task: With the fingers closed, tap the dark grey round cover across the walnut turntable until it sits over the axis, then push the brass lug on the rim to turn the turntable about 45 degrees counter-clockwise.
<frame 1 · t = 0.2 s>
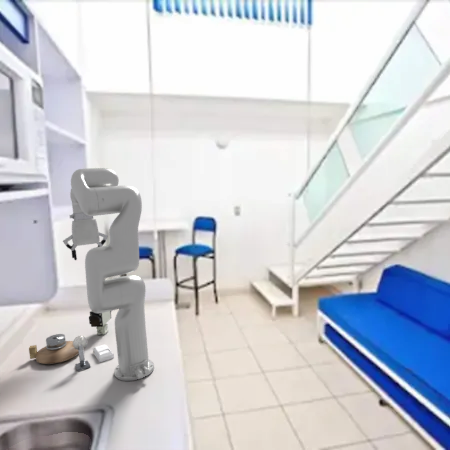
hand: (87, 257, 155), 31 cm above the worktop, tool pointing down, fingers open, 9 cm apart
pneumatic valve: (101, 333, 154), on the worktop
gauge post: (82, 366, 127), on the worktop
white switch plate: (103, 356, 134), on the worktop
turntable: (55, 348, 135), point 3 cm above the worktop, hinge at 0.0°, touching cover
cover: (56, 346, 139), point 2 cm above the worktop, touching turntable
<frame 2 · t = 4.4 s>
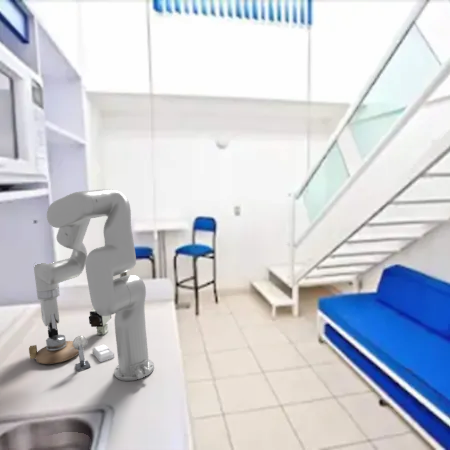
hand: (53, 339, 142), 3 cm above the worktop, tool pointing down, fingers closed
turntable: (55, 348, 135), point 3 cm above the worktop, hinge at 0.0°
cover: (56, 347, 138), point 2 cm above the worktop, touching gripper
everything else where it was.
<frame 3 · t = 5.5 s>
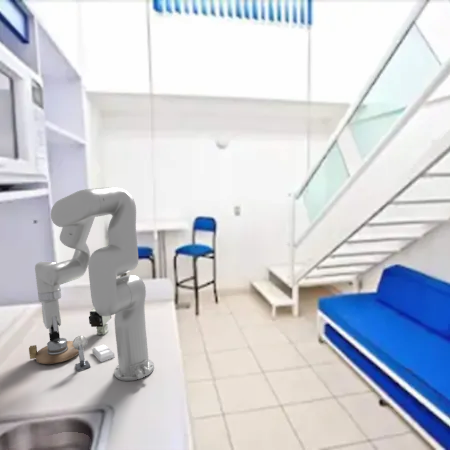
hand: (55, 342, 139), 4 cm above the worktop, tool pointing down, fingers closed
turntable: (55, 348, 135), point 3 cm above the worktop, hinge at 0.5°, touching cover
cover: (57, 350, 135), point 2 cm above the worktop, touching turntable
everything else where it was.
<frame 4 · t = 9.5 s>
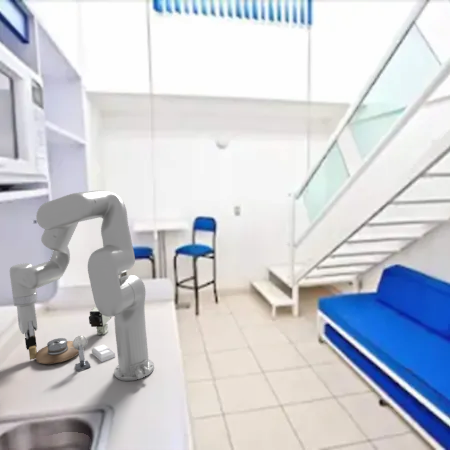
hand: (31, 347, 135), 4 cm above the worktop, tool pointing down, fingers closed
turntable: (55, 348, 135), point 3 cm above the worktop, hinge at 3.3°, touching cover, gripper
everything else where it was.
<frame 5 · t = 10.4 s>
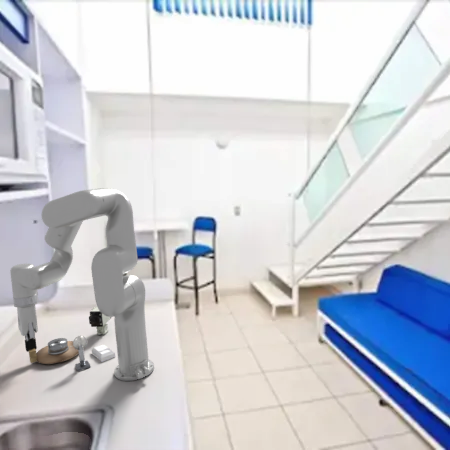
hand: (31, 349, 132), 4 cm above the worktop, tool pointing down, fingers closed
turntable: (55, 349, 135), point 3 cm above the worktop, hinge at 23.2°, touching cover, gripper
everything else where it was.
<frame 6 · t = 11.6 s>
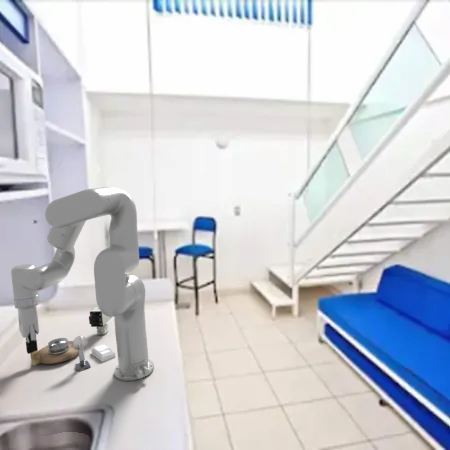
hand: (32, 351, 130), 4 cm above the worktop, tool pointing down, fingers closed
turntable: (55, 349, 134), point 3 cm above the worktop, hinge at 39.2°, touching cover, gripper
everything else where it was.
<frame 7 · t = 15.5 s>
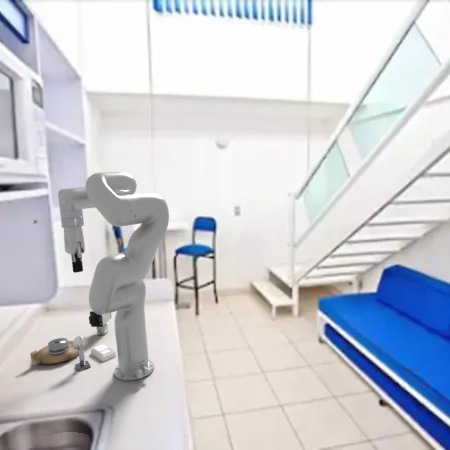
hand: (78, 271, 139), 29 cm above the worktop, tool pointing down, fingers closed
turntable: (55, 349, 134), point 3 cm above the worktop, hinge at 39.4°, touching cover
everything else where it was.
at the end: cover 0.5 cm from the turntable (horizontally); turntable at +39° (first picture: +0°); cover tilted 0° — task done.
